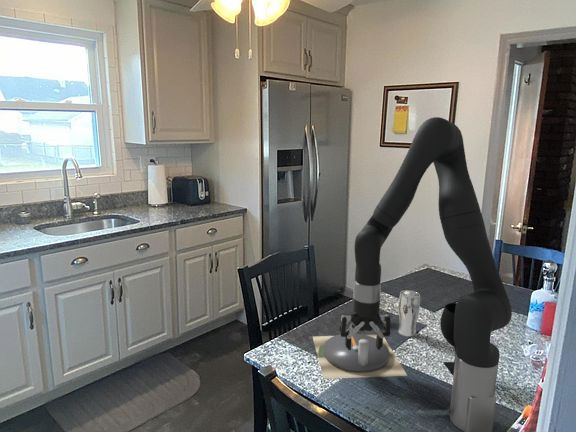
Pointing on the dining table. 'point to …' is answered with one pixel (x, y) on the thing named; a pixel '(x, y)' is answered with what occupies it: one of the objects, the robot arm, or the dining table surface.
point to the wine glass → (449, 330)
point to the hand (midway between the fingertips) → (363, 348)
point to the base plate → (336, 373)
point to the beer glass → (408, 312)
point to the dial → (356, 353)
